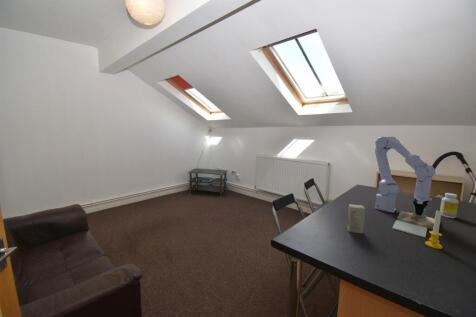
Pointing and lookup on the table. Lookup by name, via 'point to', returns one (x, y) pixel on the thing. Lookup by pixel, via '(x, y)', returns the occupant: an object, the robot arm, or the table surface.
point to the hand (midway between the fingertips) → (419, 213)
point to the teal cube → (419, 215)
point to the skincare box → (355, 218)
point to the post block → (416, 220)
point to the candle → (435, 233)
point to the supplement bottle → (449, 205)
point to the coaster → (410, 228)
